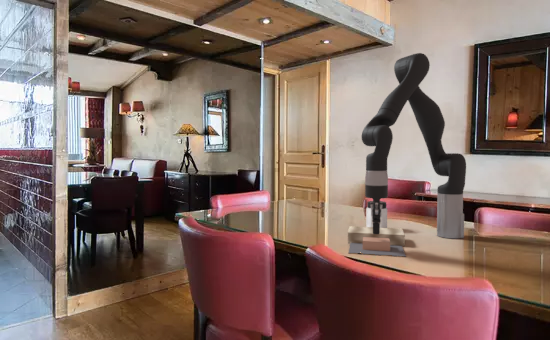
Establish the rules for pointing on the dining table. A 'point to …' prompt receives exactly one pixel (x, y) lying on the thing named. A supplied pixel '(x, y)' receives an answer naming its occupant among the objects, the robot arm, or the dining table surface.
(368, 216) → the jar
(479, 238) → the dining table surface
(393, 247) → the mat
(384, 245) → the brown rectangular block
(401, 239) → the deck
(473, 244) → the dining table surface
